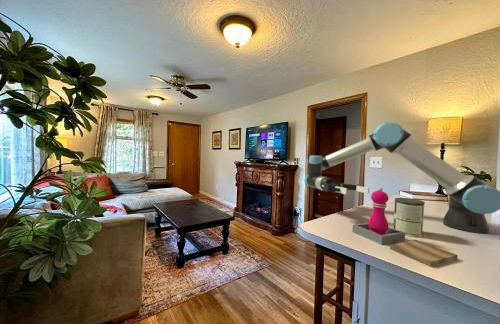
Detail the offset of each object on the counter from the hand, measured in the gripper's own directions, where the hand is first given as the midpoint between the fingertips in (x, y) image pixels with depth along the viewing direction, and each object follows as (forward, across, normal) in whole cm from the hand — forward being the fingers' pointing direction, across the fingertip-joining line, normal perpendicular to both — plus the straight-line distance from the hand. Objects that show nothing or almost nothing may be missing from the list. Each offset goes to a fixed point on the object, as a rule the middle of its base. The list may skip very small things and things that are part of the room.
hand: (357, 191), depth 94 cm
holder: (+12, +1, -16) cm, 20 cm away
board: (+28, +1, -16) cm, 32 cm away
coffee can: (+13, -16, -16) cm, 26 cm away
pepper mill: (+12, +1, -16) cm, 20 cm away
